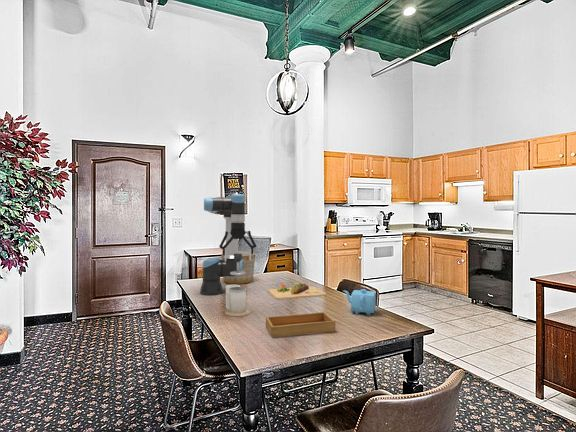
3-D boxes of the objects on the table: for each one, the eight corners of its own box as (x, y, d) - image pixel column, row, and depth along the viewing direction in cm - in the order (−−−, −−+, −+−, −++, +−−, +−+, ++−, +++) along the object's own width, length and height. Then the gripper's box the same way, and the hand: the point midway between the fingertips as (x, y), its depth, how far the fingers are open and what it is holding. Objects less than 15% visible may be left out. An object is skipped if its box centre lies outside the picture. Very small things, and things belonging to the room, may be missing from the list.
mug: (246, 304, 219) (246, 287, 219) (226, 306, 216) (226, 288, 216) (244, 301, 227) (244, 284, 227) (225, 302, 224) (225, 284, 224)
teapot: (375, 309, 210) (376, 287, 210) (372, 317, 196) (373, 293, 195) (344, 306, 216) (344, 285, 216) (339, 314, 202) (339, 290, 201)
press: (224, 309, 208) (224, 286, 208) (248, 308, 212) (248, 285, 211) (226, 317, 195) (226, 292, 194) (252, 315, 198) (252, 290, 198)
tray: (271, 338, 166) (271, 326, 165) (265, 327, 180) (265, 316, 180) (335, 333, 173) (335, 321, 173) (324, 322, 188) (324, 312, 188)
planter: (222, 278, 296) (222, 251, 296) (254, 277, 299) (254, 251, 299) (220, 285, 271) (220, 256, 270) (255, 284, 273) (255, 255, 273)
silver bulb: (229, 272, 205) (229, 253, 205) (244, 272, 207) (244, 252, 207) (230, 275, 197) (230, 255, 197) (246, 274, 199) (246, 254, 199)
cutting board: (277, 300, 231) (277, 288, 231) (267, 292, 254) (267, 281, 253) (327, 296, 242) (327, 285, 242) (313, 288, 265) (314, 278, 264)
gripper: (215, 222, 195) (215, 262, 195) (261, 222, 201) (261, 260, 201) (214, 222, 202) (214, 260, 203) (259, 221, 208) (259, 258, 209)
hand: (237, 260), depth 202 cm, fingers open, 13 cm apart
